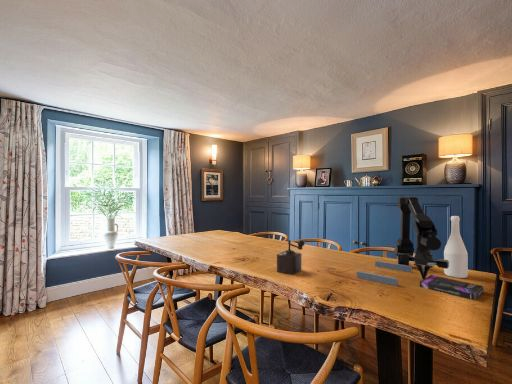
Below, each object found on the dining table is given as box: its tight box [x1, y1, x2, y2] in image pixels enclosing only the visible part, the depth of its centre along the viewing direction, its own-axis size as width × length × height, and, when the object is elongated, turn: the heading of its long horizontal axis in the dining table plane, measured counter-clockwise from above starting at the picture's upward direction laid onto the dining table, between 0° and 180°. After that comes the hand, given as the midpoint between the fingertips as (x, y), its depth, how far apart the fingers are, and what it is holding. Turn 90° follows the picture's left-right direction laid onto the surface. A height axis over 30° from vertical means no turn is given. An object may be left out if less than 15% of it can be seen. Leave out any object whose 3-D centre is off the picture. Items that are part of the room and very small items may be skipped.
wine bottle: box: [443, 215, 469, 279], centre depth 132 cm, size 10×10×30 cm
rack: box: [356, 260, 413, 287], centre depth 134 cm, size 28×18×3 cm, turn 138°
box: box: [419, 274, 484, 301], centre depth 113 cm, size 14×4×20 cm
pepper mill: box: [276, 239, 305, 275], centre depth 139 cm, size 16×11×18 cm
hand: (423, 279), depth 122 cm, fingers closed
